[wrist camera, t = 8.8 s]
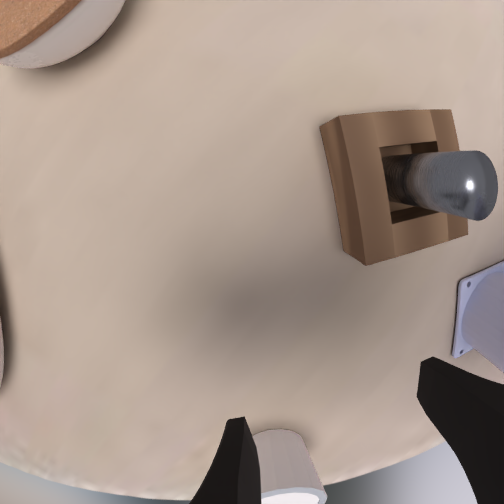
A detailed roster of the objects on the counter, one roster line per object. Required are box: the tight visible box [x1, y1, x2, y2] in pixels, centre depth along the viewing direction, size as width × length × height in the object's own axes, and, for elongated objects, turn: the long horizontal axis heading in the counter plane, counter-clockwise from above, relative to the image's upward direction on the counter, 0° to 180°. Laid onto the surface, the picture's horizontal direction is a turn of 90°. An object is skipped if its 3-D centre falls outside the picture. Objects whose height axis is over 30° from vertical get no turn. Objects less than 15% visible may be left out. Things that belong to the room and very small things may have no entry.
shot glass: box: [252, 429, 327, 504], centre depth 19 cm, size 7×7×7 cm
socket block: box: [320, 110, 468, 266], centre depth 16 cm, size 8×8×4 cm
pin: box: [381, 151, 498, 221], centre depth 13 cm, size 3×3×8 cm
